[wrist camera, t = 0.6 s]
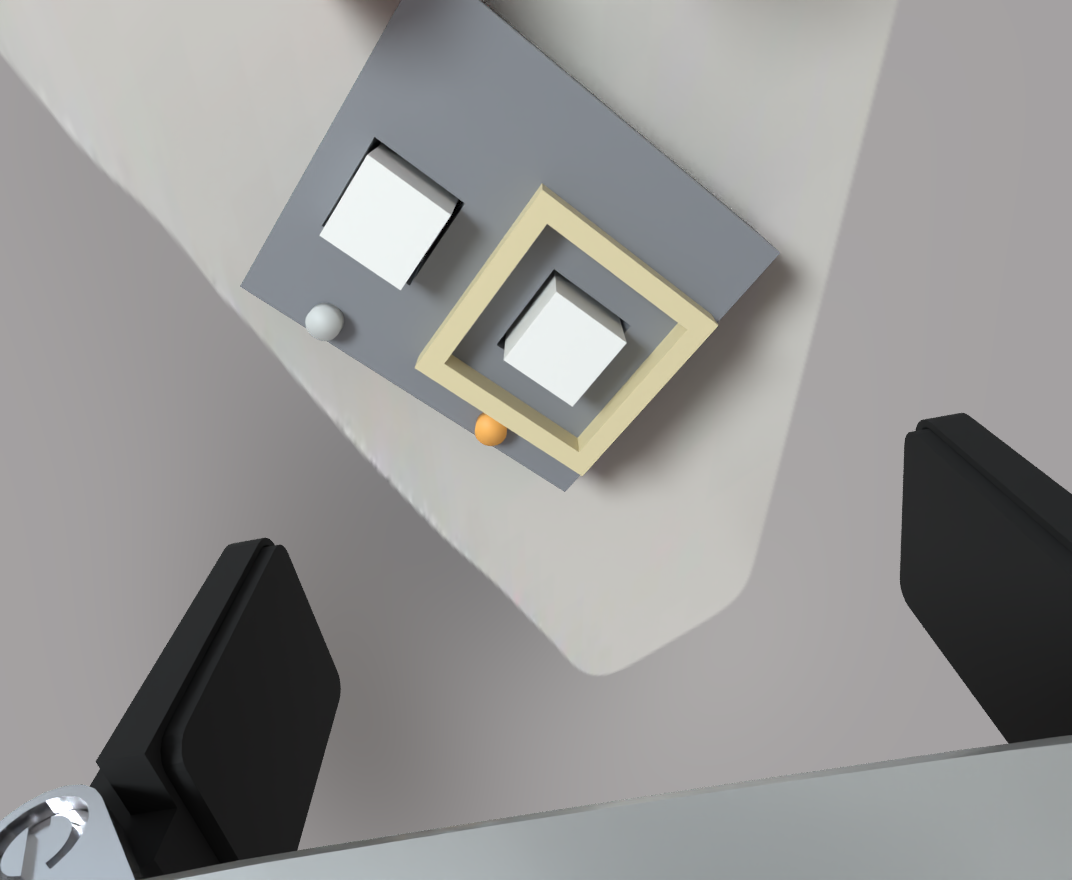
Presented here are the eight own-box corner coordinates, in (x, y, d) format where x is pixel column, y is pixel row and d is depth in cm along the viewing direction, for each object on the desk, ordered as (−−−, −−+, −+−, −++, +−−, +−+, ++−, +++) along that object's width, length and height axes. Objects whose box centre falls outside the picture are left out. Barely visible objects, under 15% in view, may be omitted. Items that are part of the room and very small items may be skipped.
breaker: (385, 141, 33) (367, 154, 30) (459, 196, 34) (451, 215, 31) (340, 215, 35) (319, 235, 31) (413, 265, 36) (400, 290, 32)
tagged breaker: (554, 266, 36) (556, 291, 32) (618, 313, 37) (626, 342, 34) (506, 329, 38) (503, 360, 34) (568, 372, 39) (572, 406, 35)
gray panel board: (437, -36, 32) (420, -48, 27) (757, 231, 37) (790, 261, 32) (267, 262, 38) (228, 296, 33) (562, 454, 43) (566, 507, 39)
